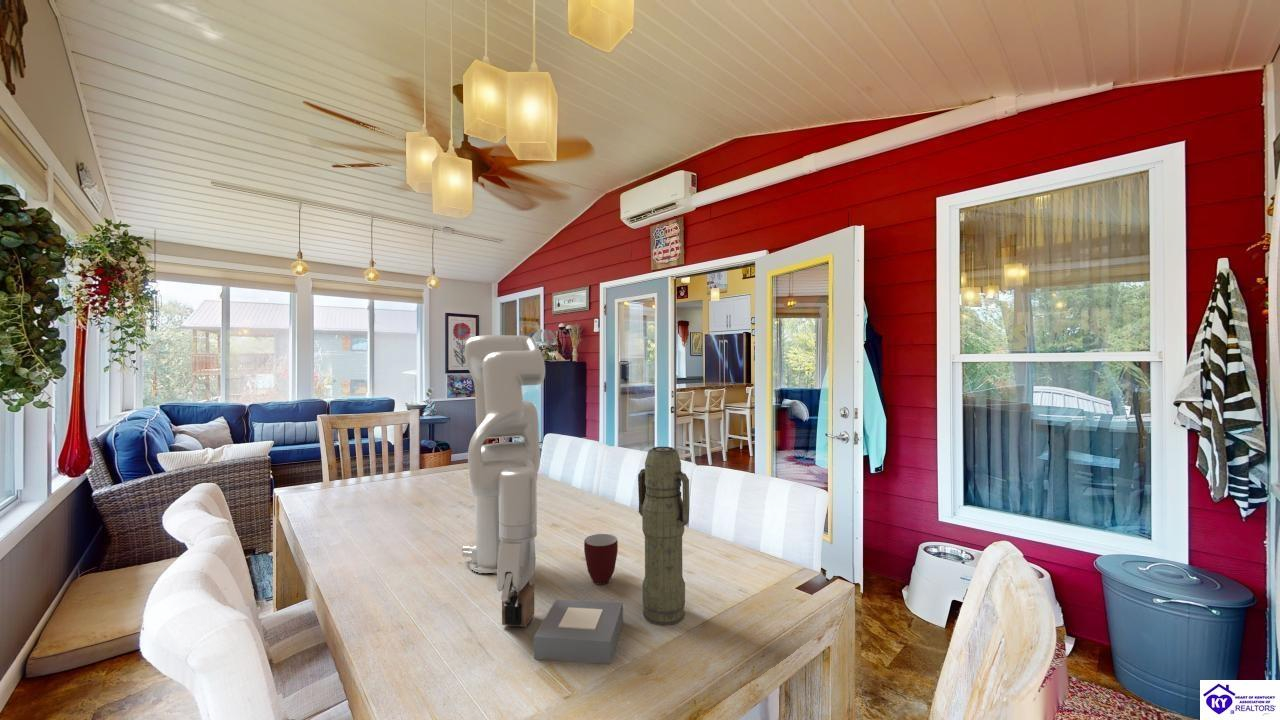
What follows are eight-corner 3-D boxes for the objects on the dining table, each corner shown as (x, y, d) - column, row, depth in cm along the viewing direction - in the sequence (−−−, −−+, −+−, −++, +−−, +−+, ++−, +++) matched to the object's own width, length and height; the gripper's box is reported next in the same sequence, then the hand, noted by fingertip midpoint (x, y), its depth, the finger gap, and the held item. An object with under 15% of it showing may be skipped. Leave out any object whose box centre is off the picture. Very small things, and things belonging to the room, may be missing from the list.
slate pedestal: (534, 658, 90) (533, 635, 90) (556, 617, 104) (556, 597, 104) (610, 664, 88) (610, 640, 88) (623, 622, 102) (622, 601, 102)
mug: (597, 567, 128) (597, 528, 128) (626, 572, 126) (626, 532, 125) (578, 585, 118) (578, 543, 118) (610, 590, 116) (609, 547, 116)
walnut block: (502, 624, 100) (501, 595, 100) (511, 611, 105) (511, 583, 105) (526, 626, 100) (525, 597, 99) (534, 613, 104) (534, 585, 104)
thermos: (648, 598, 112) (647, 443, 111) (697, 611, 106) (696, 447, 106) (628, 617, 104) (627, 449, 104) (680, 632, 98) (679, 454, 98)
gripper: (516, 513, 111) (516, 594, 111) (482, 544, 94) (482, 639, 94) (548, 515, 110) (549, 596, 110) (520, 546, 93) (521, 642, 93)
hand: (518, 615), depth 102 cm, fingers closed on walnut block, 5 cm apart
